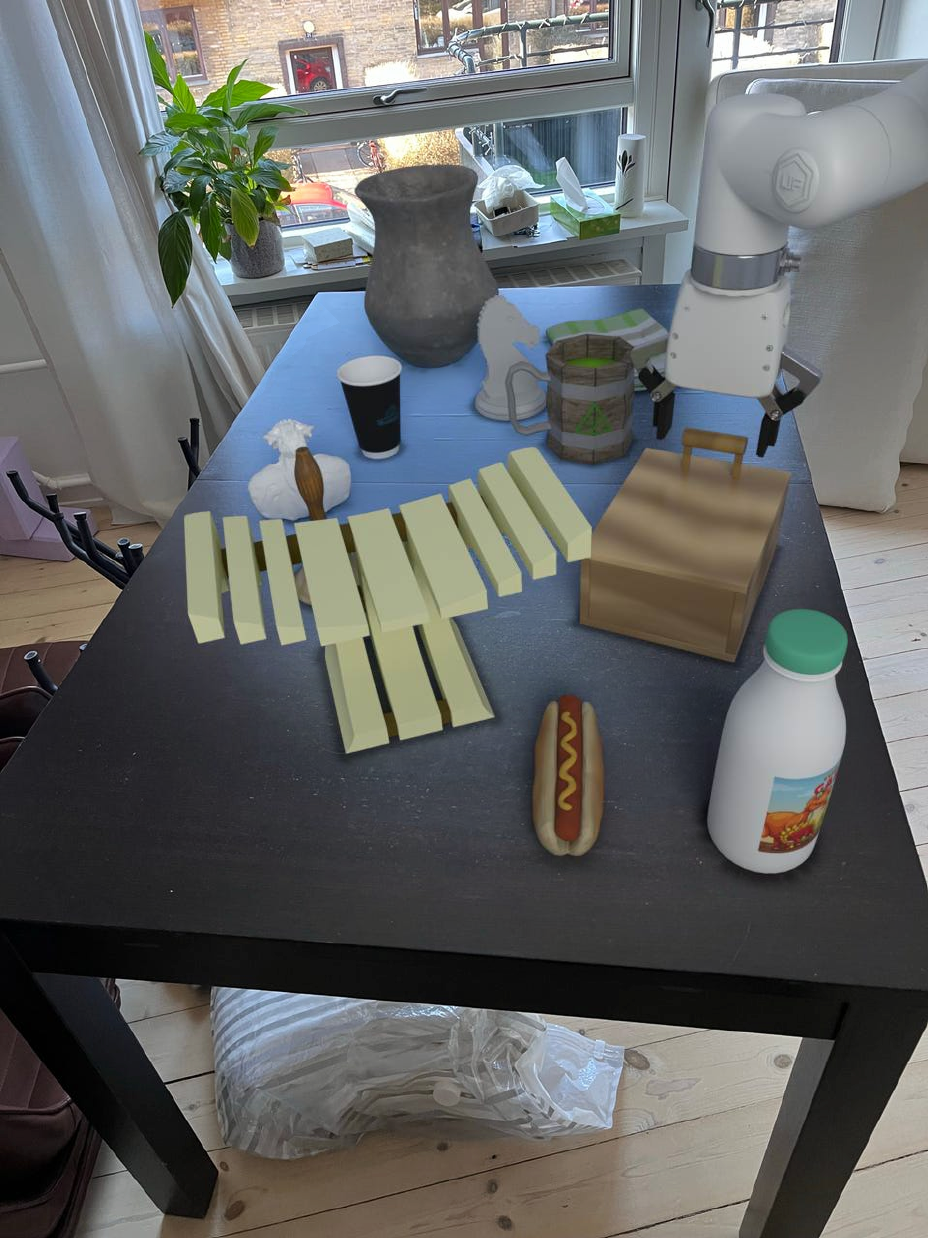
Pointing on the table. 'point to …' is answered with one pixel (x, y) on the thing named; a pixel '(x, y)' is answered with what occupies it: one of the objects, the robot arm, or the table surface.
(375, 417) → the dixie cup
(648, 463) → the lid
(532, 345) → the chess piece
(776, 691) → the milk bottle
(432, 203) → the vase
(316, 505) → the hand bell
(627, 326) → the dish towel
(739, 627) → the box
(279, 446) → the white tied sack
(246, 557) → the slatted curved stool
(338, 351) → the table surface
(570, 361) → the mug
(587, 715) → the food
